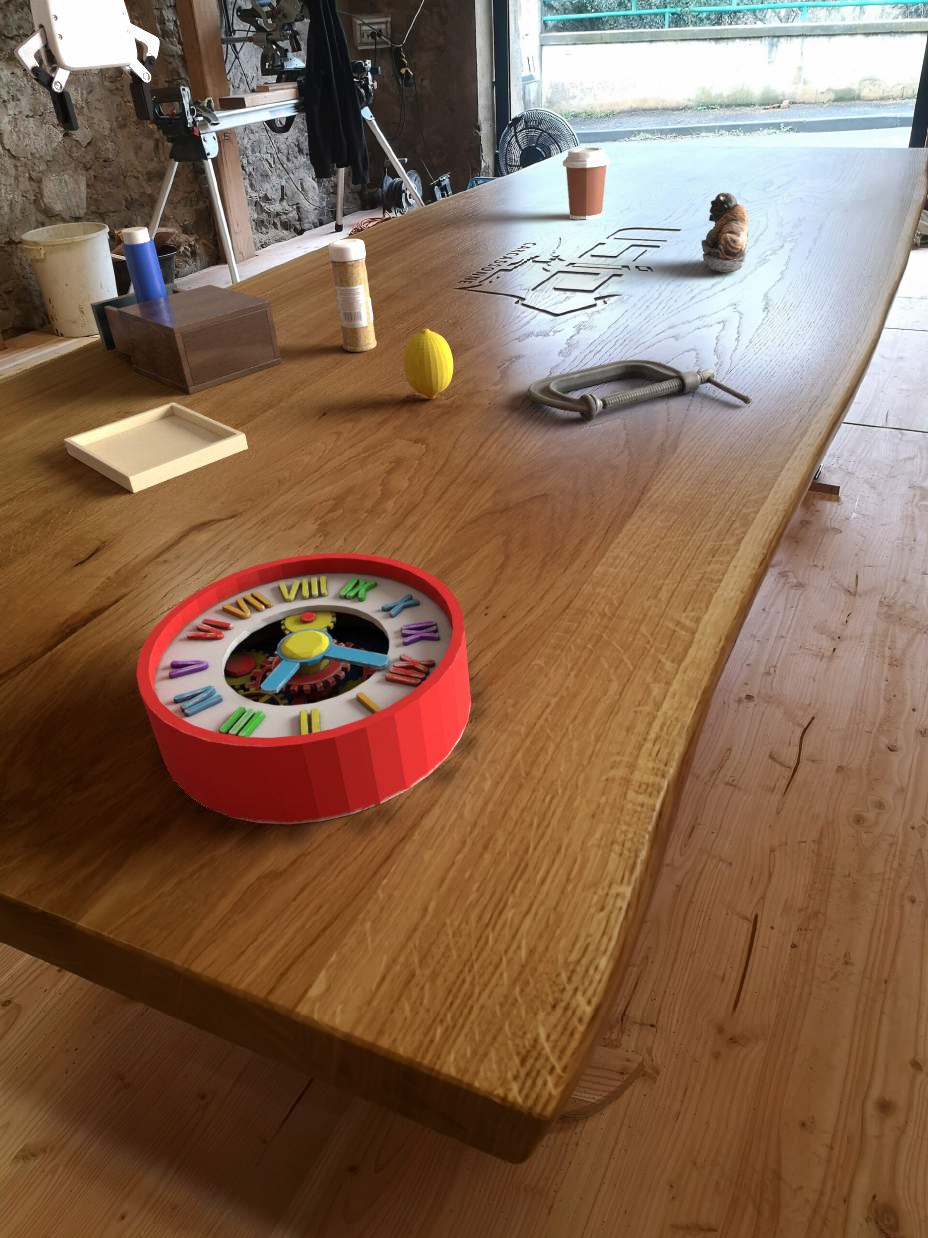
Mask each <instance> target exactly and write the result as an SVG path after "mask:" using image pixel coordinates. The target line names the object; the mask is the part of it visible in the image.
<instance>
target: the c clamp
mask: <svg viewBox="0 0 928 1238" xmlns="http://www.w3.org/2000/svg"><path fill="white" fill-rule="evenodd" d="M715 376H716V374H715V372H714V370H713V369H712V368H708V369H704V370H701V369H699V370H697V371H696V370H695V371H694V370H689V371H684V372H683V371H681V370H679V369H678V368H676V367H674V366H671V365H668V364H665V363H663V362H659V361H655V360H650V359H649V360H647V359H625V360H624V359H623V360H616V361H612V362H608V363H603V364H599V365H594V366H591V367H585V368H582V369H578V370H574V371H569V372H565V373H561V374H556V375H551V376H548V377H544V378H541V379H539V380H536V381H534V382H533V383H531V384H530V385H529V386H528V389H527V394H528V396H529V398H530V399H531V400H533V401H534V402H537V403H538V404H541V405H543V406H545V407H549V408H552V409H555V410H559V411H565V412H566V411H567V412H571V413H579V415H580V416H581V418H582V419H583V420H584V421H587V422H590V421H593V420H595V418H596V416H597V415H598V414H599V413H601V412H602V410H603V411H608V410H610V409H611V410H612V409H615V408H620V407H623V406H627V405H630V404H631V405H632V404H635V403H638V402H642V401H645V400H649V399H653V398H656V397H660V396H664V395H668V394H672V393H676V392H677V393H678V394H686V393H687V394H688V393H690V392H695V391H697V390H698V388H699V387H700V386H702V385H707V384H710V385H712V386H713V387H715V388H717V389H719V390H721V391H722V392H724V393H727V394H728V395H730V396H732V397H734V398H736V399H738V400H740V401H742V402H743V403H744V404H745V405H750V404H751V403H752V402H753V397H752V396H750V395H746V394H745V393H742V392H741V391H738V390H737V389H735V388H733V387H731V386H729V385H727V384H725V383H723V382H722V381H719V380H718V379H715V378H716V377H715ZM627 378H637V379H644V380H648V381H650V382H651V381H652V382H654V383H653V384H649V385H645V386H641V387H638V388H634V389H631V390H626V391H623V392H618V393H615V394H611V395H607V396H604V397H601V398H600V399H598V398H597V396H596V395H595V394H593V393H590V394H588V393H584V394H582V395H581V396H579V397H578V398H575V397H573V396H570V395H566V394H564V393H567V392H570V391H575V390H579V389H583V388H589V387H592V386H596V385H600V384H603V383H607V382H612V381H615V380H619V379H627Z"/></svg>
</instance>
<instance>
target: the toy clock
mask: <svg viewBox="0 0 928 1238" xmlns="http://www.w3.org/2000/svg"><path fill="white" fill-rule="evenodd" d="M467 653H468V652H467V641H466V631H465V620H464V612H463V611H462V608H461V606H460V603H459V601H458V599H457V597H456V596H455V595H454V594H453V592H452V591H451V590H450V589H449V587H448V586H447V585H446V584H444V583H443V582H442V581H441V580H439V579H438V578H437V577H436V576H435V575H433V574H432V573H430V572H427V571H426V570H423V569H422V568H420V567H417V566H416V565H413V564H410V563H407V562H405V561H401V560H399V559H395V558H389V557H385V556H380V555H375V554H366V553H355V552H327V553H326V552H325V553H324V552H323V553H312V554H301V555H296V556H290V557H286V558H285V557H284V558H279V559H275V560H271V561H267V562H263V563H260V564H256V565H253V566H250V567H247V568H245V569H241V570H239V571H236V572H233V573H231V574H229V575H226V576H224V577H222V578H219V579H218V580H216V581H214V582H211V583H209V584H208V585H206V586H204V587H202V588H201V589H199V590H198V591H196V592H194V593H192V594H191V595H189V596H187V597H186V598H185V599H183V601H180V603H178V604H177V605H176V606H174V607H173V608H172V609H171V610H170V611H169V612H168V613H167V614H166V615H165V616H164V617H163V618H162V619H161V620H160V621H158V623H157V624H156V625H155V626H154V627H153V629H152V630H151V633H150V634H149V635H148V637H147V638H146V640H145V641H144V644H143V646H142V648H141V650H140V653H139V656H138V659H137V666H136V673H135V674H136V679H137V686H138V691H139V693H140V697H141V699H142V702H143V705H144V708H145V711H146V713H147V717H148V720H149V722H150V723H149V724H151V725H150V726H151V729H152V732H153V734H154V737H155V739H156V743H157V745H158V749H159V751H160V755H161V758H162V759H163V763H164V765H166V766H165V768H166V767H167V768H166V770H167V771H168V773H169V772H170V773H169V775H170V774H171V775H170V777H171V776H172V777H171V778H172V780H173V779H174V780H175V782H176V783H177V784H178V785H179V786H181V787H182V789H183V790H184V791H185V792H186V793H187V794H188V795H190V796H191V797H193V798H194V799H196V800H197V801H199V802H200V803H202V804H204V805H202V804H200V803H199V802H197V801H196V802H197V804H200V805H201V806H203V807H205V806H206V807H205V808H206V809H208V808H210V809H209V810H211V809H212V810H211V811H213V812H216V813H218V814H221V815H224V816H226V817H229V818H232V819H236V820H237V819H238V820H241V821H247V822H253V823H256V824H257V823H259V824H272V825H273V824H274V825H296V824H306V823H317V822H318V823H319V822H324V821H328V820H333V819H337V818H341V817H346V816H351V815H353V814H356V813H359V812H362V811H365V810H367V809H370V808H373V807H376V806H379V805H381V804H383V803H386V802H387V801H389V800H391V799H393V798H395V797H397V796H399V795H401V794H403V793H405V792H407V791H408V790H410V789H411V788H412V787H414V786H415V785H417V784H418V783H420V782H421V781H422V780H424V779H425V778H427V777H428V776H430V774H432V773H433V772H434V770H436V769H437V768H438V767H439V766H440V765H441V764H442V763H443V762H444V761H445V760H446V759H447V758H448V757H449V755H450V754H451V752H452V751H453V750H454V748H455V747H456V745H457V744H458V743H459V741H460V740H461V738H462V736H463V733H464V731H465V728H466V726H467V724H468V722H469V719H470V718H469V716H470V712H471V705H472V698H471V687H470V677H469V664H468V663H469V662H468V654H467ZM174 780H173V781H174ZM175 782H174V783H175ZM176 783H175V784H176ZM177 784H176V785H177ZM178 785H177V786H178ZM179 786H178V787H179ZM182 789H181V790H182ZM183 790H182V791H183ZM184 791H183V792H184ZM185 792H184V793H185ZM186 793H185V794H186ZM187 794H186V795H187ZM188 795H187V796H188ZM191 797H189V798H190V799H192V798H191ZM194 799H192V800H193V801H195V800H194ZM207 807H208V808H207ZM214 810H215V811H214ZM217 811H219V812H220V813H219V812H217ZM222 813H223V814H222ZM227 815H228V816H227Z"/></svg>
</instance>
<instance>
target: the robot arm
mask: <svg viewBox="0 0 928 1238" xmlns="http://www.w3.org/2000/svg"><path fill="white" fill-rule="evenodd" d="M29 5H30V10H31V15H32V21H33V25H34V32H33V33H32V34H31V35H29V36H28V37H27V38H26V39H25V40H23V41H22V42H21V43H20V44H19V45H17V46H16V47H15V48H14V50H13V54H14V56H15V58H16V59H17V60H18V61H19V63H20V64H21V66H22V67H23V68H24V69H25V70H26V71H27V73H28V75H29V77H31V79H33V80H34V81H35V82H36V83H37V84H39V85H40V86H42V88H43V89H44V90H45V91H46V92H48V93H49V96H50V99H51V103H52V107H53V110H54V113H55V114H54V115H55V117H56V121H57V123H59V124H61V127H62V129H63V130H64V131H69V132H76V131H79V129H80V126H79V123H78V119H77V115H76V111H75V107H74V103H73V99H72V96H71V94H70V92H69V91H68V90H65V86H66V83H67V80H68V78H69V76H70V73H71V71H72V72H73V71H75V72H76V71H86V70H87V71H88V70H97V69H98V70H99V69H106V68H107V69H108V68H119V67H120V69H121V70H122V71H123V72H124V73H125V74H126V75H127V76H128V77H129V78H130V80H131V82H129V91H130V97H131V99H132V103H133V108H134V112H135V116H136V119H137V120H139V121H153V120H154V113H153V112H154V110H155V109H154V104H153V99H152V95H151V90H150V85H149V82H150V81H151V80H152V74H153V72H154V70H155V68H156V66H157V64H158V61H157V57H158V53H159V50H160V49H159V48H160V40H159V38H158V37H157V36H156V35H153V34H151V33H150V32H147V31H145V30H143V29H142V28H140V27H138V26H136V25H134V24H132V23H131V21H130V17H129V13H128V10H127V7H126V4H125V1H124V0H29ZM136 42H137V43H138V44H140V45H142V47H143V54H142V55H143V56H141V58H140V59H139V60H138V50H137V45H136ZM38 51H39V52H40V56H41V59H42V61H43V63H44V66H46V68H48V70H47V71H46V70H45V69H44V68H43V67H41V66H40V65H39V64H38V62H37V60H36V59H35V54H36V53H37V52H38Z"/></svg>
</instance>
